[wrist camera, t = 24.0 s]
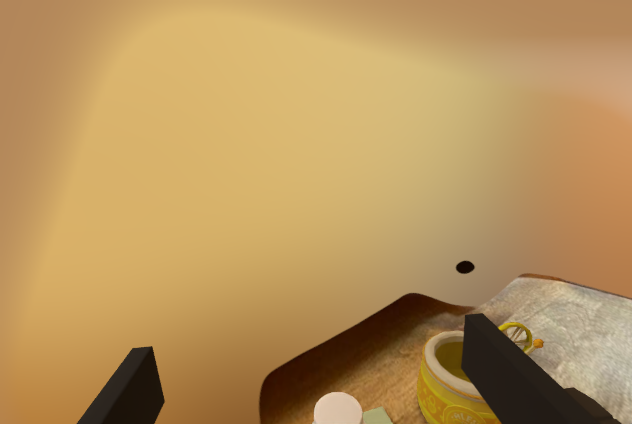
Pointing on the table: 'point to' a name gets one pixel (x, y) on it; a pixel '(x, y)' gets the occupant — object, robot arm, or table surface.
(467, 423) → the mug
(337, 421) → the supplement bottle
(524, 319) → the table surface
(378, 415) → the light mat
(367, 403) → the table surface
